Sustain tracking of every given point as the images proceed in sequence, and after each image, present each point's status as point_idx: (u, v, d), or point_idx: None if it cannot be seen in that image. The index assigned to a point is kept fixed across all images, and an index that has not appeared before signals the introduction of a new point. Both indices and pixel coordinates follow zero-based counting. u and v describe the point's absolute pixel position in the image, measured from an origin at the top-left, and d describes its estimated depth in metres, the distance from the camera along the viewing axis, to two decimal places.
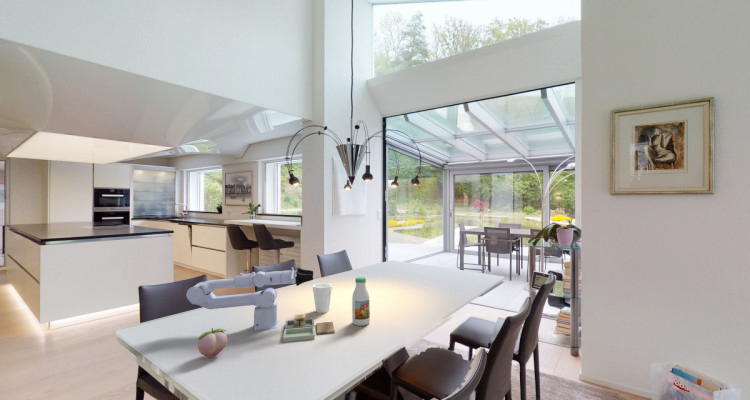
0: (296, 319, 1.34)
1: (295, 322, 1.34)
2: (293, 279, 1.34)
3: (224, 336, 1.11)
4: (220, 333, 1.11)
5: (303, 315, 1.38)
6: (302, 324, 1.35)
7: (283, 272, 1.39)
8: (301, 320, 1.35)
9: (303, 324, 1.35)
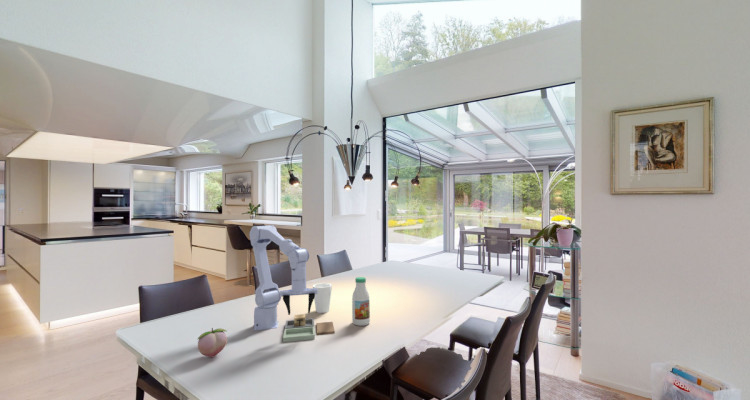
0: (296, 319, 1.34)
1: (295, 322, 1.34)
2: (280, 294, 1.25)
3: (224, 336, 1.11)
4: (220, 333, 1.11)
5: (303, 315, 1.38)
6: (302, 324, 1.35)
7: (295, 282, 1.25)
8: (301, 320, 1.35)
9: (303, 324, 1.35)
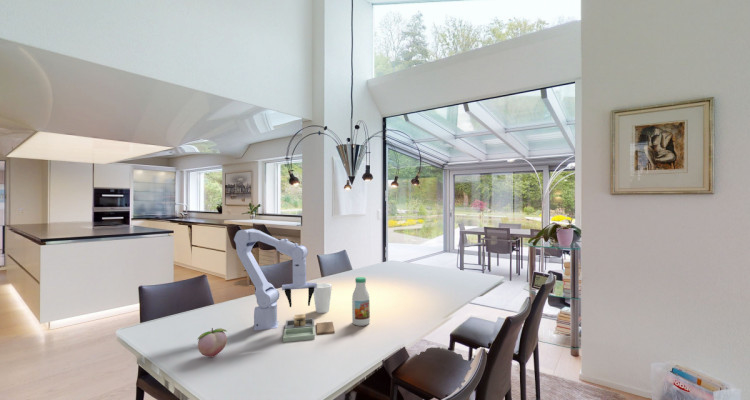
0: (296, 319, 1.34)
1: (295, 322, 1.34)
2: (282, 288, 1.35)
3: (224, 336, 1.11)
4: (220, 333, 1.11)
5: (303, 315, 1.38)
6: (302, 324, 1.35)
7: (296, 277, 1.34)
8: (301, 320, 1.35)
9: (303, 324, 1.35)
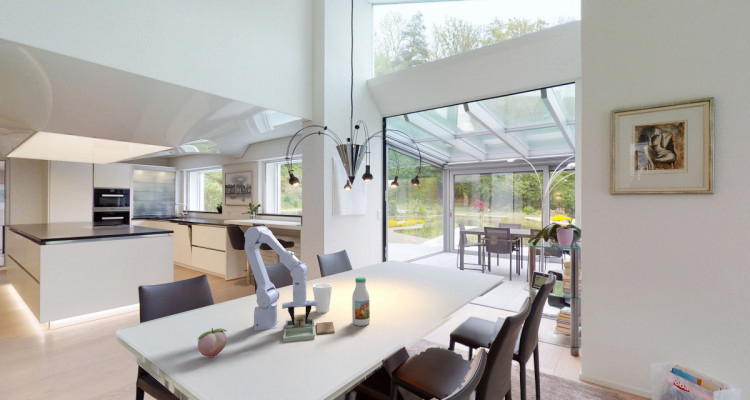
0: (296, 319, 1.34)
1: (295, 322, 1.34)
2: (282, 306, 1.35)
3: (224, 336, 1.11)
4: (220, 333, 1.11)
5: (303, 315, 1.38)
6: (302, 324, 1.35)
7: (296, 296, 1.34)
8: (301, 320, 1.35)
9: (303, 324, 1.35)
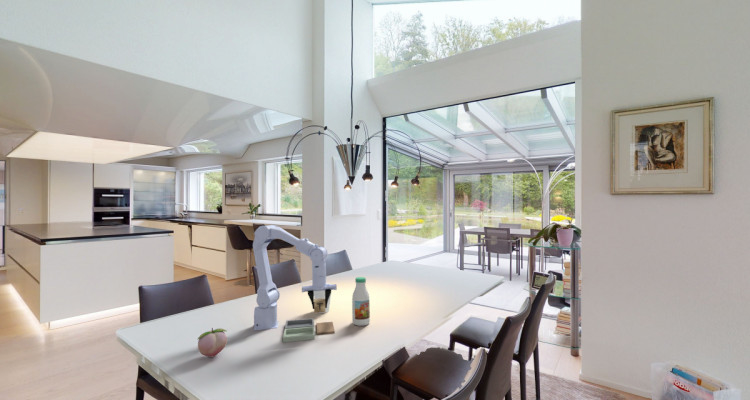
0: (316, 303, 1.32)
1: (315, 306, 1.32)
2: None
3: (224, 336, 1.11)
4: (220, 333, 1.11)
5: (323, 299, 1.36)
6: (322, 308, 1.33)
7: (316, 279, 1.32)
8: (321, 303, 1.33)
9: (323, 308, 1.33)
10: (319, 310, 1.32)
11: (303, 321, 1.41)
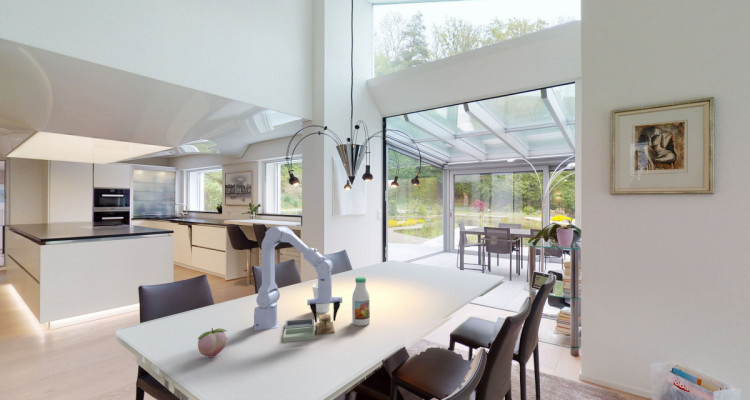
0: (321, 319, 1.31)
1: (320, 322, 1.31)
2: (307, 303, 1.32)
3: (224, 336, 1.11)
4: (220, 333, 1.11)
5: (328, 315, 1.35)
6: (327, 324, 1.32)
7: (321, 292, 1.32)
8: (327, 320, 1.32)
9: (328, 324, 1.32)
10: (324, 327, 1.32)
11: (303, 321, 1.41)
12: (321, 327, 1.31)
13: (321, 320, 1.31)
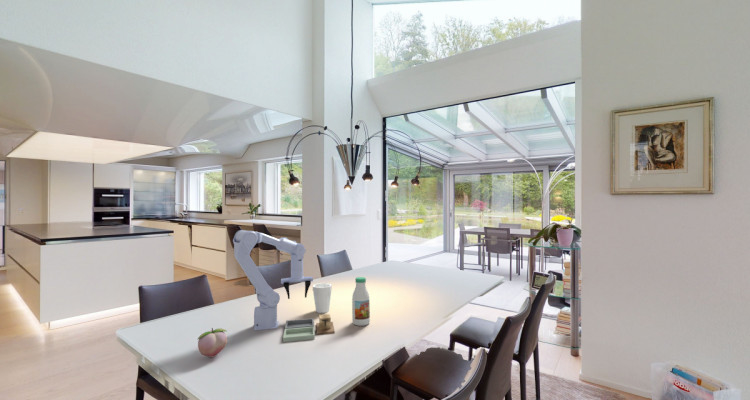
0: (321, 319, 1.31)
1: (320, 322, 1.31)
2: (281, 281, 1.47)
3: (224, 336, 1.11)
4: (220, 333, 1.11)
5: (328, 315, 1.35)
6: (327, 324, 1.32)
7: (294, 271, 1.47)
8: (327, 320, 1.32)
9: (328, 324, 1.32)
10: (324, 327, 1.32)
11: (303, 321, 1.41)
12: (321, 327, 1.31)
13: (321, 320, 1.31)
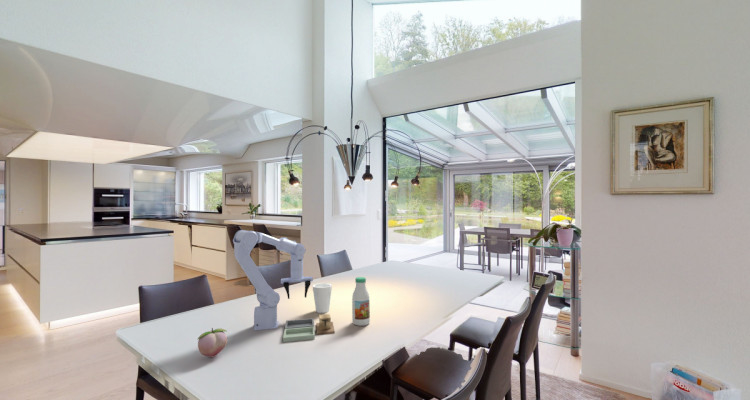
0: (321, 319, 1.31)
1: (320, 322, 1.31)
2: (281, 281, 1.47)
3: (224, 336, 1.11)
4: (220, 333, 1.11)
5: (328, 315, 1.35)
6: (327, 324, 1.32)
7: (294, 271, 1.47)
8: (327, 320, 1.32)
9: (328, 324, 1.32)
10: (324, 327, 1.32)
11: (303, 321, 1.41)
12: (321, 327, 1.31)
13: (321, 320, 1.31)
